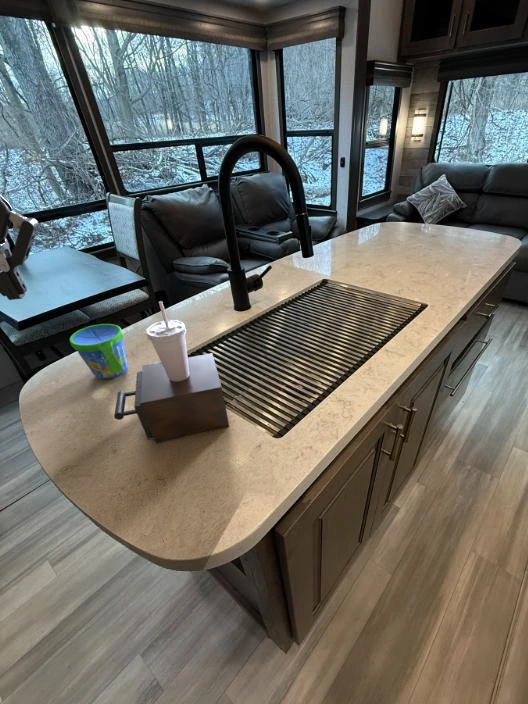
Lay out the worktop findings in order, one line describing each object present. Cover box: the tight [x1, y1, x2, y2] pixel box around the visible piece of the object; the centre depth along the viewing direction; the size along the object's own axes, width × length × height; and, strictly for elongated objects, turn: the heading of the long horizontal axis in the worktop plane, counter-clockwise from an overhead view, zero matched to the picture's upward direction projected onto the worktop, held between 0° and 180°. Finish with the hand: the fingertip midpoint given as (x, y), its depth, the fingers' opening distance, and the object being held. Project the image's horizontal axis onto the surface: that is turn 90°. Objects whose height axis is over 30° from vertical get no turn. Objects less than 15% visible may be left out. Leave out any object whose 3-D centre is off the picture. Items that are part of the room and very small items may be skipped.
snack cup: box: [69, 323, 129, 380], centre depth 77 cm, size 16×10×10 cm
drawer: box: [113, 370, 154, 440], centre depth 64 cm, size 17×11×8 cm
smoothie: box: [145, 300, 190, 381], centre depth 57 cm, size 6×6×14 cm
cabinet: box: [140, 353, 230, 444], centre depth 65 cm, size 14×13×10 cm
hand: (17, 297), depth 46 cm, fingers closed
